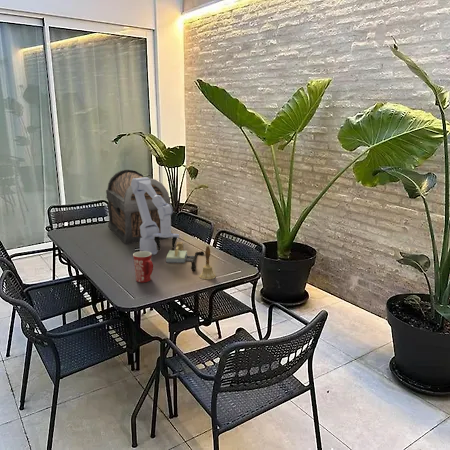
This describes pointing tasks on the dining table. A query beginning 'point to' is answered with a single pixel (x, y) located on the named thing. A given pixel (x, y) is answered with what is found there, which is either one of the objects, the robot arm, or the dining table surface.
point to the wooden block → (180, 245)
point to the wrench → (195, 259)
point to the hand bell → (207, 267)
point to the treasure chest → (130, 206)
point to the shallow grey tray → (176, 260)
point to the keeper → (189, 257)
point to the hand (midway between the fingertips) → (166, 249)
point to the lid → (176, 254)
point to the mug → (143, 266)
